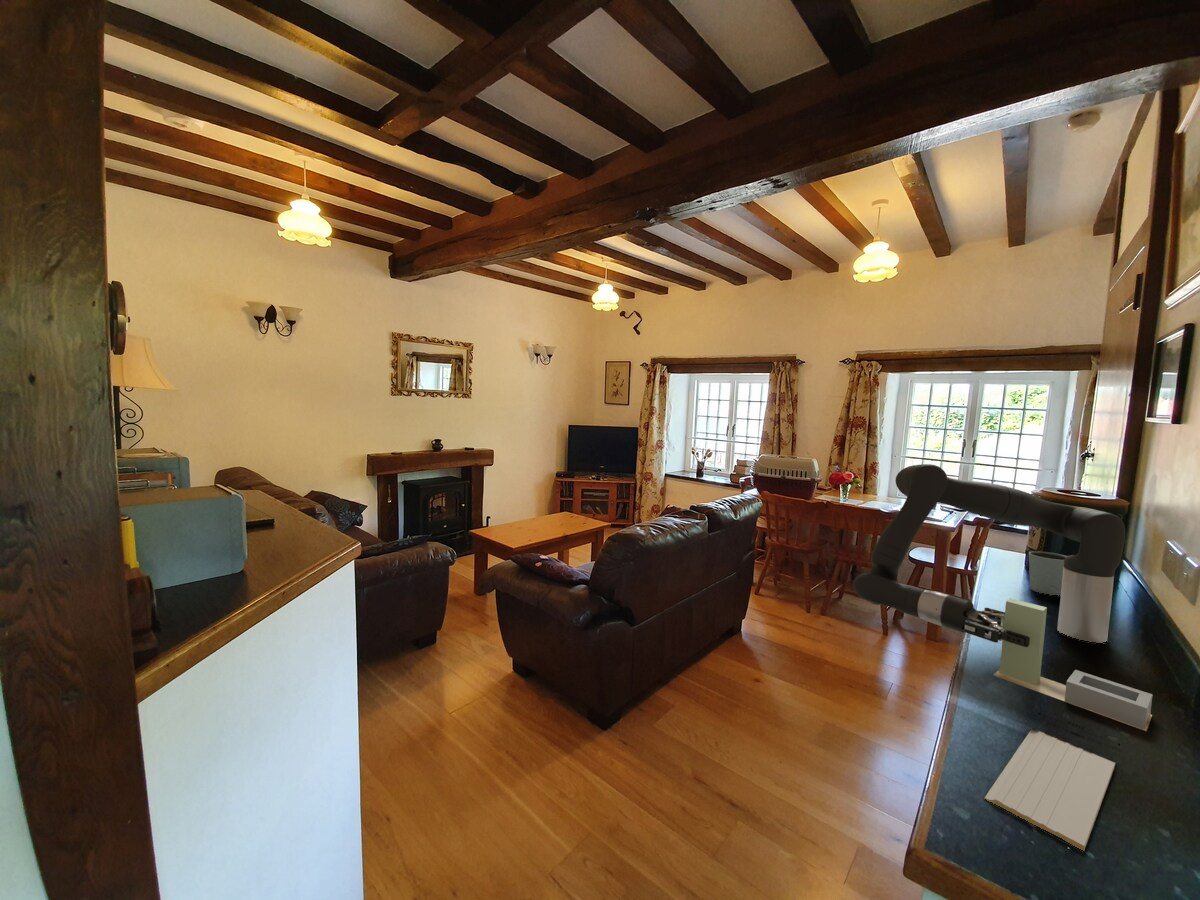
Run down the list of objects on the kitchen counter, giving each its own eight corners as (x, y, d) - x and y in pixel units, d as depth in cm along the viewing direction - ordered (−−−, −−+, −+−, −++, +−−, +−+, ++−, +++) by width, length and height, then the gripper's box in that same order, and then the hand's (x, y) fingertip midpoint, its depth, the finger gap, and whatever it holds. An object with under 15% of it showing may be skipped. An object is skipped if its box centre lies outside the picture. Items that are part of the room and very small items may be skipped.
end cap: (1073, 688, 99) (1075, 669, 99) (1150, 714, 91) (1152, 694, 91) (1064, 700, 95) (1066, 681, 95) (1144, 729, 86) (1146, 708, 86)
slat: (1003, 668, 107) (1010, 598, 105) (1039, 681, 102) (1047, 607, 100) (999, 672, 105) (1006, 601, 104) (1035, 685, 100) (1043, 610, 99)
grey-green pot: (1071, 599, 151) (1075, 562, 150) (1028, 592, 157) (1032, 556, 156) (1063, 589, 160) (1066, 554, 159) (1022, 583, 165) (1026, 549, 164)
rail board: (1004, 668, 109) (1004, 664, 108) (1151, 720, 91) (1152, 715, 91) (992, 679, 104) (992, 675, 104) (1145, 736, 86) (1146, 730, 86)
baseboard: (971, 796, 72) (1083, 856, 63) (973, 778, 72) (1085, 836, 63) (1026, 720, 91) (1119, 757, 82) (1028, 705, 91) (1121, 741, 81)
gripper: (934, 601, 110) (1027, 628, 97) (957, 588, 118) (1045, 611, 105) (931, 633, 110) (1023, 664, 97) (955, 618, 119) (1042, 645, 106)
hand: (1035, 636), depth 101 cm, fingers open, 8 cm apart
